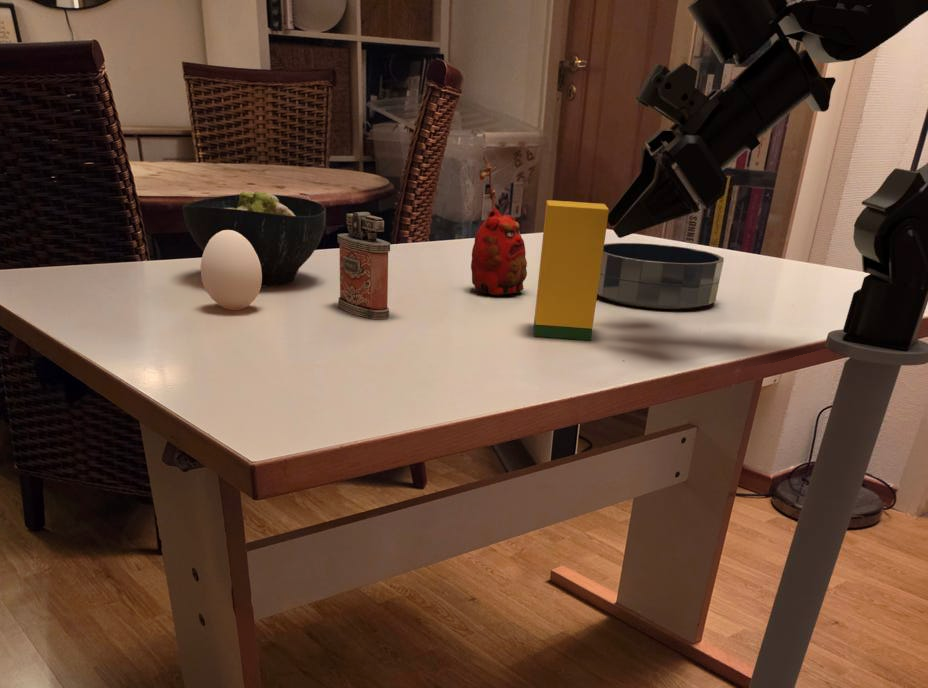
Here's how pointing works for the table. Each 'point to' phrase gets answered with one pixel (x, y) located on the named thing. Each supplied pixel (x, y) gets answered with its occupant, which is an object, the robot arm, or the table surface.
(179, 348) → the table surface
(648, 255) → the slate bowl
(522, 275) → the red clay folk toy
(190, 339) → the table surface
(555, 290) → the sponge
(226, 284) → the egg
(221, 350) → the table surface
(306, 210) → the bowl
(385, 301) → the lighter
